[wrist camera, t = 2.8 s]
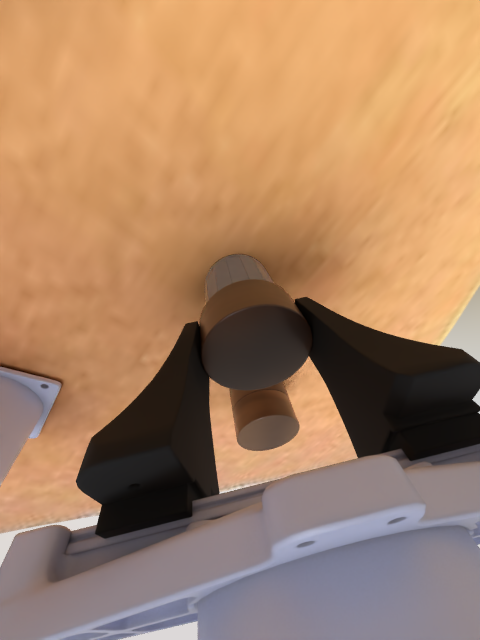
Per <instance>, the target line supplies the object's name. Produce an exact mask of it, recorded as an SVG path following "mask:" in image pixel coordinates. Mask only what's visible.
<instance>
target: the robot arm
mask: <svg viewBox="0 0 480 640" xmlns="http://www.w3.org/2000/svg"><path fill="white" fill-rule="evenodd" d="M295 304H296V306H297V307H298V309H299V310H300V312H301V313H302V315H303V316H304V318H305V319H306V321H307V322H308V324H309V326H310V328H311V331H312V338H313V342H312V348H311V351H310V354H309V357H310V358H311V360H312V362H313V363H314V365H315V366H316V368H317V370H318V371H319V373H320V375H321V376H322V378H323V380H324V382H325V383H326V385H327V387H328V389H329V392H330V394H331V396H332V398H333V400H334V402H335V404H336V407H337V409H338V411H339V413H340V415H341V418H342V420H343V422H344V425H345V427H346V429H347V432H348V434H349V437H350V439H351V441H352V444H353V446H354V449H355V452H356V454H357V457H358V458H357V459H353V460H349V461H345V462H341V463H337V464H333V465H329V466H325V467H321V468H317V469H313V470H309V471H305V472H301V473H297V474H293V475H290V476H287V477H285V478H282V479H278V480H274V481H270V482H266V483H262V484H258V485H254V486H250V487H246V488H242V489H238V490H234V491H230V492H227V493H222V494H219V487H218V479H217V472H216V464H215V456H214V448H213V439H212V431H211V421H210V409H209V376H208V374H207V373H206V371H205V370H204V368H203V366H202V362H201V356H200V327H199V324H198V321H196V322H192V323H187V324H185V326H184V328H183V330H182V332H181V334H180V336H179V338H178V340H177V342H176V344H175V346H174V348H173V350H172V351H171V353H170V355H169V356H168V358H167V360H166V361H165V363H164V364H163V366H162V367H161V369H160V370H159V372H158V373H157V374H156V376H155V377H154V378H153V380H152V381H151V382H150V383H149V384H148V386H147V387H146V388H145V389H144V390H143V391H142V392H141V393H140V394H139V396H138V397H137V398H136V399H135V400H134V401H133V402H132V403H131V404H130V405H129V406H128V407H127V408H126V409H125V410H124V411H122V412H121V413H120V414H119V415H118V416H117V417H116V418H115V419H114V420H112V421H111V422H110V423H109V424H108V425H106V426H105V427H104V428H103V429H102V430H101V431H99V432H98V433H97V434H96V435H94V436H93V437H92V438H91V441H90V443H89V445H88V448H87V450H86V453H85V456H84V459H83V462H82V465H81V468H80V471H79V473H78V476H77V479H76V483H77V486H78V488H79V489H80V490H81V491H82V492H83V493H85V494H86V495H88V496H90V497H91V498H93V499H94V500H96V501H97V502H99V503H100V504H102V507H101V511H100V515H99V519H98V523H97V525H95V526H91V527H86V528H83V529H79V530H74V531H70V529H68V528H67V527H65V526H61V525H51V526H46V527H42V528H38V529H34V530H30V531H26V532H22V533H19V534H17V535H16V536H15V537H14V540H13V542H12V544H11V546H10V548H9V550H8V552H7V554H6V557H5V559H4V561H3V563H2V565H1V567H0V640H118V639H123V638H127V637H131V636H136V635H140V634H144V633H148V632H153V631H157V630H161V629H166V628H170V627H174V626H179V625H183V624H187V623H192V622H196V621H198V640H480V548H479V547H478V546H477V545H478V544H480V414H479V413H478V412H479V411H480V406H479V405H477V404H476V403H475V402H474V401H473V400H472V399H473V398H474V396H475V395H476V394H477V392H478V391H479V389H480V362H478V361H477V360H476V359H474V358H473V357H472V356H470V355H469V354H467V353H466V352H464V351H463V350H462V349H456V348H450V347H444V346H438V345H432V344H427V343H422V342H417V341H413V340H409V339H405V338H401V337H397V336H394V335H390V334H387V333H383V332H380V331H377V330H374V329H372V328H369V327H366V326H364V325H361V324H359V323H356V322H354V321H352V320H350V319H347V318H345V317H343V316H341V315H339V314H337V313H335V312H333V311H331V310H329V309H328V308H326V307H324V306H322V305H320V304H319V303H317V302H315V301H313V300H312V299H310V298H308V297H303V298H299V299H295ZM61 386H62V385H61V383H60V382H58V381H56V380H52V379H48V378H44V377H40V376H36V375H32V374H28V373H24V372H20V371H16V370H12V369H8V368H4V367H0V486H1V484H2V482H3V481H4V479H5V477H6V476H7V474H8V472H9V470H10V469H11V467H12V465H13V463H14V462H15V460H16V458H17V457H18V455H19V453H20V451H21V450H22V448H23V446H24V445H25V443H26V441H27V439H28V438H36V437H38V435H39V434H40V432H41V429H42V427H43V425H44V423H45V421H46V419H47V417H48V414H49V412H50V410H51V408H52V406H53V404H54V401H55V399H56V397H57V395H58V393H59V391H60V389H61Z"/></svg>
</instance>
